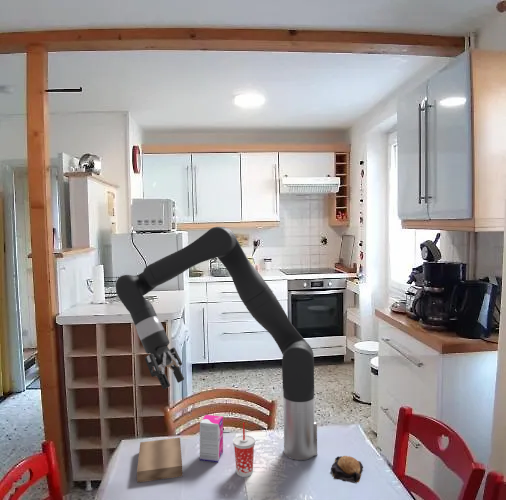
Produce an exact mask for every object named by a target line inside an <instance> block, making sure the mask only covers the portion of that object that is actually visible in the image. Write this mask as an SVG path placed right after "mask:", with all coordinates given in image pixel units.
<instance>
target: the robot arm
mask: <svg viewBox="0 0 506 500" xmlns="http://www.w3.org/2000/svg"><path fill="white" fill-rule="evenodd" d="M216 258H218V260H219V262H221V264H223V266H224V268H225V269H226V271H227V272H228V273H229V274H230V277H231V280H232V282H233V284H234V288H235V290H236V292H237V294H238V296H239V298H240V300H241V302H242V304H243V305H244V306H245V308H246V309H247V311H248V312H249V314H250V316H252V317H253V319H254V320H255V321H256V322H257V323H258V324H259V325H260V326H261V327H263V328H264V329H265V330H266V331H267V332H268V333H269V335H270V336H271V337H272V338H273V340H274V342H275V343H276V345H277V346H278V348H279V350H280V352H281V354H282V358H281V371H282V373H281V374H282V377H281V378H282V392H283V393H282V394H283V395H282V397H283V403H282V405H283V452H284V454H285V457H288V458H289V459H291V460H296V461H304V460H310V459H312V458H313V457H314V456H317V455H318V424H317V421H315V358H314V357H315V356H314V350H313V349H312V348H313V347H311V345H310V344H309V342H307V340H306V339H305V338H304V337H303V336H302V335H301V334H300V332H299V331H298V330H297V328H296V327H295V326H294V325H293V324H292V322H291V321H290V318H289V317H288V315H287V313H286V312H285V310H284V308H283V307H282V305H281V303H280V302H279V300H278V298H277V297H276V295H275V294H274V292H273V290H272V289H271V288H270V286H269V285H268V283H267V282H266V281H265V279H264V278H263V276H262V275H261V274H260V272H258V270H257V269H256V268H255V267H254V265H253V264H252V263H251V261H250V260H249V259H248V257H247V255H246V253H245V252H244V250H243V248H242V245H240V242H239V241H238V239H237V236H236V235H235V233H234V232H233V231H232V230H231V229H230V228H228V227H225V226H215V227H211V228H210V229H208V230H207V231H206V232H205V233H203V234H202V235H201V236H200V237H198V238H197V239H196V240H194V241H192V242H191V243H190V244H187V245H186V246H185V247H183V248H181V249H179V250H177V251H175V252H173V253H171V254H168V255H167V256H164V257H162V258H160V259H158V260H156V261H154V262H151V263H150V264H148V265H147V266H145V267H144V269H143V272H141V273H139V274H137V275H132V274H123V275H121V276H119V277H118V278H117V280H116V282H115V292H116V295H117V296H118V298H119V300H120V302H121V303H122V304H123V306H124V307H125V308H126V310H127V311H128V313H129V315H130V316H131V319H132V321H133V325H134V326H135V328H136V332H137V336H138V337H139V340H140V342H141V344H142V346H143V349H144V351H145V353H146V354H148V355H147V356H145V357H144V361H145V363H146V366H147V368H148V370H149V373H150V376H151V377H153V378H154V377H156V378H158V381H159V383H160V386H161V388H162V389H163V390H166V389H168V388H169V387H170V386H171V384H170V382H169V379H168V377H167V374H166V373H165V371H166V369H165V368H168V369H170V370H171V371H172V373H173V376H174V378H175V379H176V382H177V383H181V382H182V381H184V380H185V377H184V375H183V372H182V371H181V366H182V365H183V361H182V360H181V358H180V355H179V354H178V353H179V352H177V350H176V347H172V348H169V347H168V345H170V344H171V343H170V339H169V338H168V337H169V336H168V334H167V333H166V331H165V328H164V326H163V324H162V321H161V320H160V319H159V317H158V315H157V313H156V310H155V308H154V306H153V304H152V302H151V301H149V300H147V299H146V298H145V295H147V294H149V293H150V292H151V291H153V290H155V288H156V287H158V286H160V285H163V284H164V283H166V282H169V281H171V280H172V279H174V278H176V277H178V276H179V275H181V274H183V273H185V272H186V271H188V270H189V269H191V268H193V267H195V266H197V265H199V264H201V263H203V262H206V261H209V260H213V259H216Z"/></svg>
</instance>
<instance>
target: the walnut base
mask: <svg viewBox="0 0 506 500" xmlns="http://www.w3.org/2000/svg"><path fill="white" fill-rule="evenodd" d="M138 450H139V451H138V459H137V461H138V462H137V467H136V468H137V470H136V482H137V483H143V482H144V483H145V482H151V481H158V480H165V479H173V478H181V477H183V459H182V444H181V437H175V438H174V437H173V438H166V439H156V440H148V441H141V442H139V449H138Z"/></svg>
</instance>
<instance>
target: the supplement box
mask: <svg viewBox="0 0 506 500" xmlns="http://www.w3.org/2000/svg"><path fill="white" fill-rule="evenodd" d="M223 453H224V416H221V415H211V414H205V415H204V416H203V418H202V419H201V420H200V422H199V461H200V462H206V463H219V461H220V459H221V457H222V455H223Z"/></svg>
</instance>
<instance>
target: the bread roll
mask: <svg viewBox="0 0 506 500" xmlns="http://www.w3.org/2000/svg"><path fill="white" fill-rule="evenodd" d="M363 469H364V466H363V463H362V461H361V460H357V459H356V457H355V458H354V457H352V456H350V455H349V456H348V455H342V456H336V458H335V459H334V462H333V463H332V465H331V467H330V472H331V476H332V477H333V479H334V480H339V481H345V482H347V483H359V482H360V480H361V479H362V478H361V477H362V472H363V471H364V470H363Z"/></svg>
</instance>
